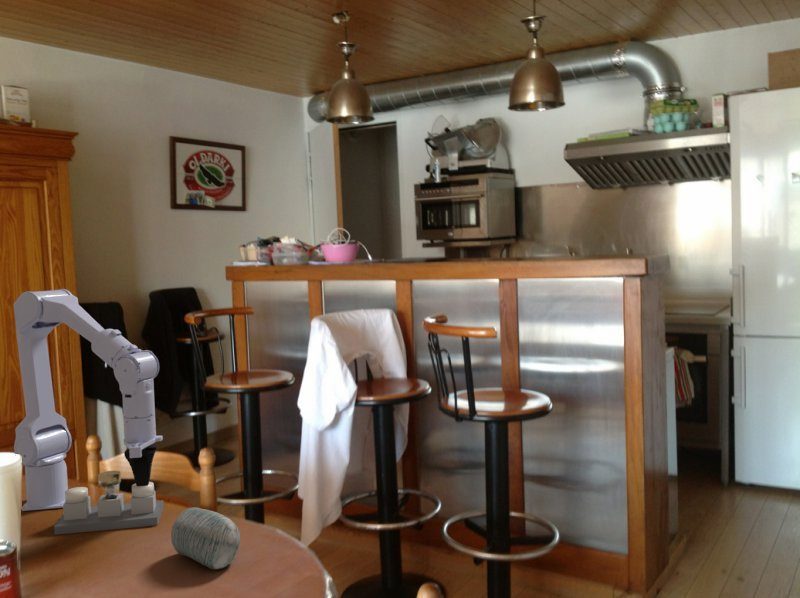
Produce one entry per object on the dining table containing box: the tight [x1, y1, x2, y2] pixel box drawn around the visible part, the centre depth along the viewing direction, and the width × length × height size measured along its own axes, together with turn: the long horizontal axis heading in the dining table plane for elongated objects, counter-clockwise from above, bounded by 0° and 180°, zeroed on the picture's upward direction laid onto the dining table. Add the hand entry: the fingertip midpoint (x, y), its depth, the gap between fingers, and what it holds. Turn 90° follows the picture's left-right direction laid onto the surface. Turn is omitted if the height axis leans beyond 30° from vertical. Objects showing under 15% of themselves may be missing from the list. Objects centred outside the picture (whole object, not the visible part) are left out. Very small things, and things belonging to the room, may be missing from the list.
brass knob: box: [97, 470, 122, 500], centre depth 144 cm, size 4×4×5 cm
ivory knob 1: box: [65, 486, 89, 503], centre depth 143 cm, size 4×4×5 cm
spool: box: [170, 507, 241, 571], centre depth 124 cm, size 14×10×10 cm
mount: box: [53, 490, 164, 536], centre depth 144 cm, size 10×18×4 cm, turn 101°
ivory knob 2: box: [131, 481, 155, 497], centre depth 145 cm, size 4×4×5 cm
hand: (142, 485), depth 145 cm, fingers closed, pressing on ivory knob 2
